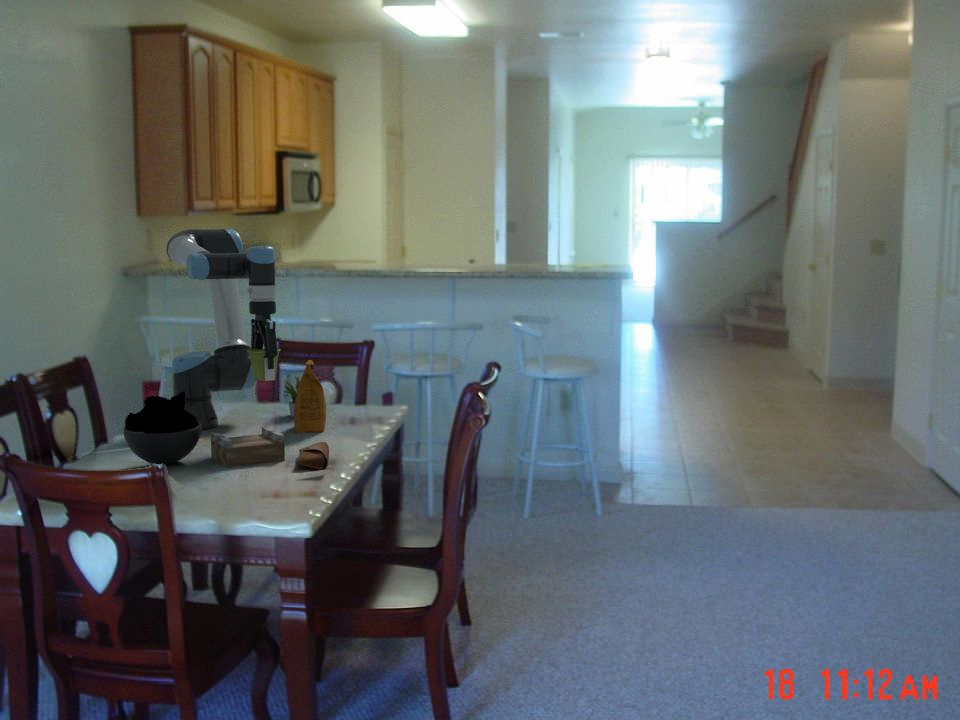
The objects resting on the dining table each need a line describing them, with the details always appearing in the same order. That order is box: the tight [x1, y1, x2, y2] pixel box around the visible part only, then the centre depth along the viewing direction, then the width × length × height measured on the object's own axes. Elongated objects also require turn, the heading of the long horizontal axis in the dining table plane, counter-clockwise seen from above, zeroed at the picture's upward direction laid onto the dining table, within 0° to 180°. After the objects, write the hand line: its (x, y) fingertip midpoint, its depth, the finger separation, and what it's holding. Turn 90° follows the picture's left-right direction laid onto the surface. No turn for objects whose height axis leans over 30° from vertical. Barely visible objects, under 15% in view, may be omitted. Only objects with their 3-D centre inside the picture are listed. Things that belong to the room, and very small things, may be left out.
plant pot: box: [247, 347, 281, 382], centre depth 294 cm, size 9×9×9 cm
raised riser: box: [210, 426, 286, 468], centre depth 277 cm, size 14×16×7 cm
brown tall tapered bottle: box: [293, 359, 327, 434], centre depth 315 cm, size 10×12×22 cm
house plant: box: [281, 373, 320, 418], centre depth 334 cm, size 14×14×16 cm
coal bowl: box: [122, 392, 202, 465], centre depth 270 cm, size 20×20×19 cm
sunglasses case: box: [295, 441, 330, 470], centre depth 272 cm, size 18×7×7 cm
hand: (264, 378), depth 294 cm, fingers closed on plant pot, 8 cm apart
